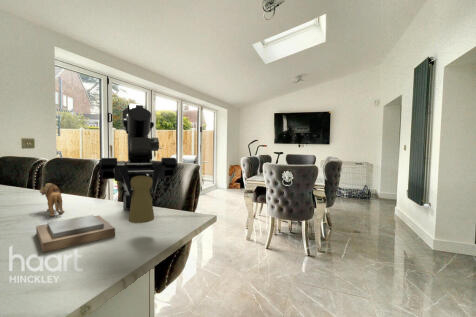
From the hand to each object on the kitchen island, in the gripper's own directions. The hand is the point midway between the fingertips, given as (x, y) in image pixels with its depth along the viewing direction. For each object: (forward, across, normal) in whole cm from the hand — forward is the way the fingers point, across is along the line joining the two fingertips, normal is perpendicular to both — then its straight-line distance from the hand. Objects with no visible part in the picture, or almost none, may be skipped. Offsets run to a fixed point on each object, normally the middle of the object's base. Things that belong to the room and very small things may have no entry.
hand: (142, 194), depth 58 cm
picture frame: (+2, -15, +13) cm, 20 cm away
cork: (+4, 0, +6) cm, 7 cm away
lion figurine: (-16, -24, +32) cm, 44 cm away
